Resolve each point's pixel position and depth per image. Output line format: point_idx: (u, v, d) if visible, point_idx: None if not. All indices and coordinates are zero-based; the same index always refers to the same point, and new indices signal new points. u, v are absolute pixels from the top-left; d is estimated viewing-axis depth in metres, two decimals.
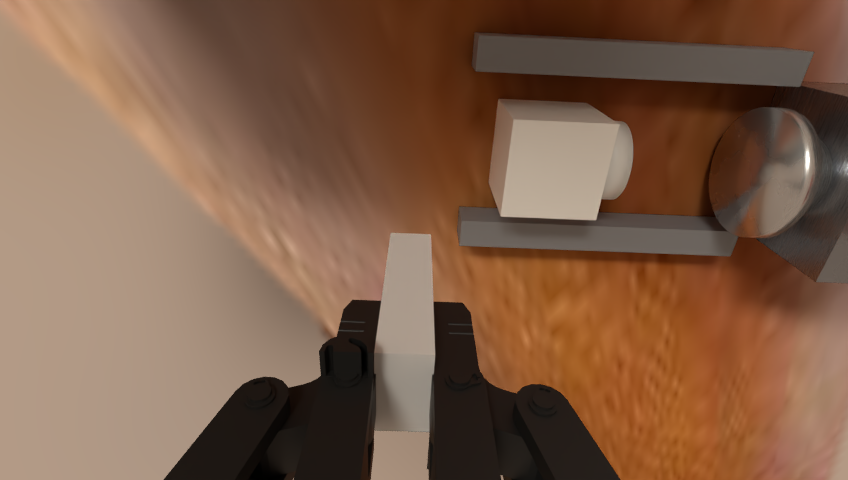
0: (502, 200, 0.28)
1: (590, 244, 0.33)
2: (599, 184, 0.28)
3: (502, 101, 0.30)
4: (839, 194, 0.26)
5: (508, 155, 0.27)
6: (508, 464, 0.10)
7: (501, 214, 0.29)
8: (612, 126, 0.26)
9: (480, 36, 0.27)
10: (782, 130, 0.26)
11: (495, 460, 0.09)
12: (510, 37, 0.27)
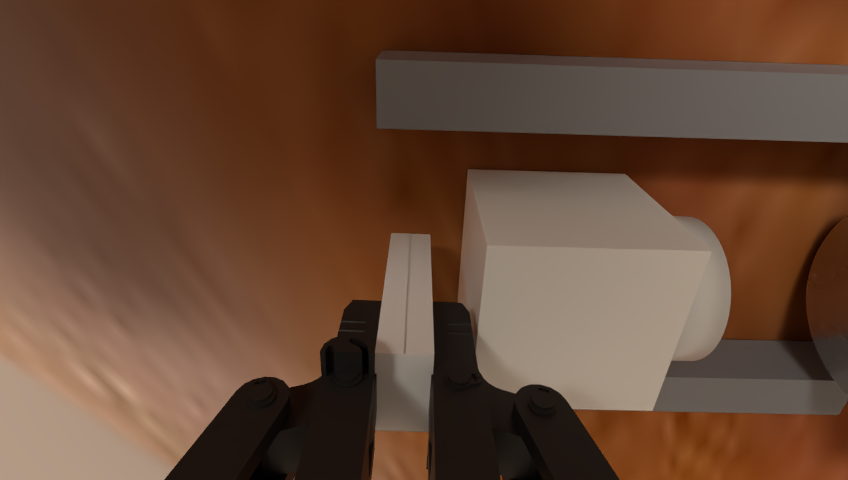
0: None
1: None
2: (663, 354, 0.14)
3: (474, 178, 0.17)
4: None
5: (479, 308, 0.13)
6: (506, 464, 0.10)
7: None
8: (696, 256, 0.12)
9: (378, 61, 0.13)
10: None
11: (494, 460, 0.09)
12: (440, 62, 0.13)
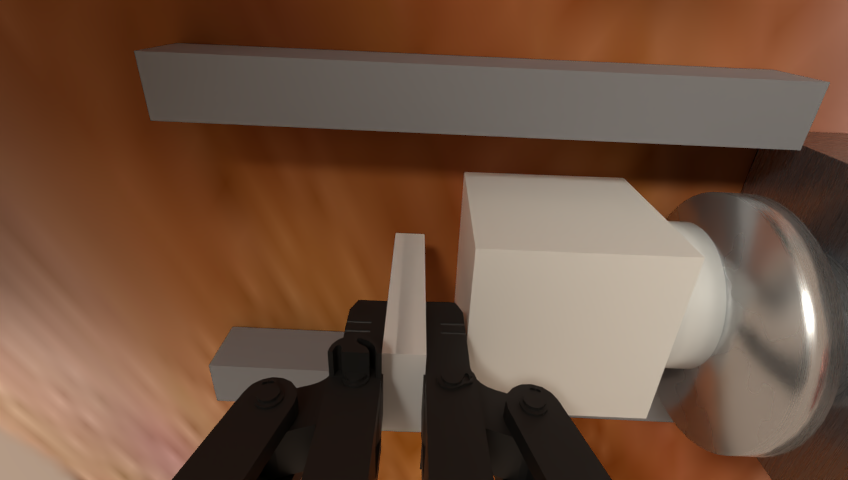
0: None
1: None
2: (656, 362, 0.14)
3: (469, 181, 0.17)
4: None
5: (468, 312, 0.13)
6: (498, 464, 0.10)
7: None
8: (689, 262, 0.12)
9: (137, 53, 0.13)
10: (758, 253, 0.12)
11: (488, 459, 0.09)
12: (201, 54, 0.13)
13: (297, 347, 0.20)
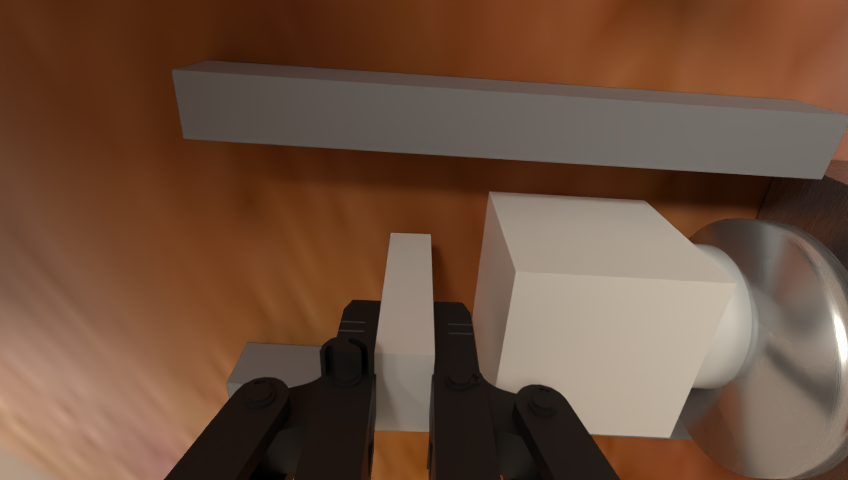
0: None
1: None
2: (683, 383, 0.14)
3: (495, 200, 0.17)
4: None
5: (503, 332, 0.13)
6: (507, 464, 0.10)
7: None
8: (720, 287, 0.12)
9: (175, 72, 0.13)
10: (788, 281, 0.13)
11: (495, 460, 0.09)
12: (239, 75, 0.13)
13: (315, 364, 0.20)
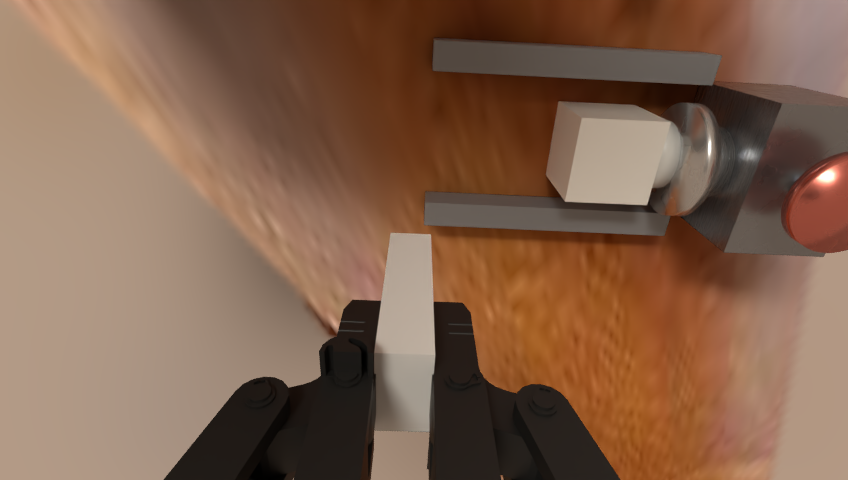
0: (567, 187, 0.33)
1: (539, 224, 0.38)
2: (651, 173, 0.32)
3: (563, 103, 0.35)
4: (740, 176, 0.30)
5: (574, 148, 0.32)
6: (508, 464, 0.10)
7: (565, 199, 0.33)
8: (664, 124, 0.31)
9: (435, 41, 0.32)
10: (692, 121, 0.31)
11: (495, 460, 0.09)
12: (461, 42, 0.32)
13: (464, 198, 0.38)
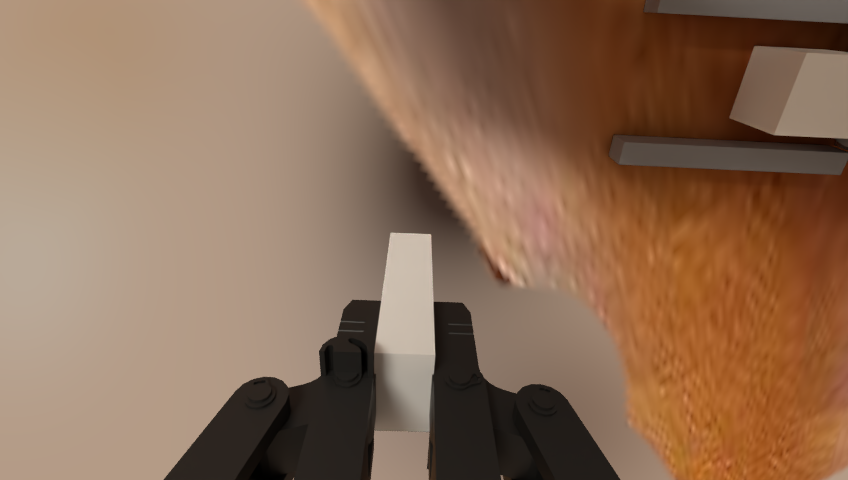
0: (778, 121, 0.36)
1: (726, 163, 0.41)
2: None
3: (763, 46, 0.38)
4: None
5: (793, 83, 0.34)
6: (508, 464, 0.10)
7: (774, 133, 0.36)
8: None
9: None
10: None
11: (495, 460, 0.09)
12: None
13: (655, 139, 0.41)
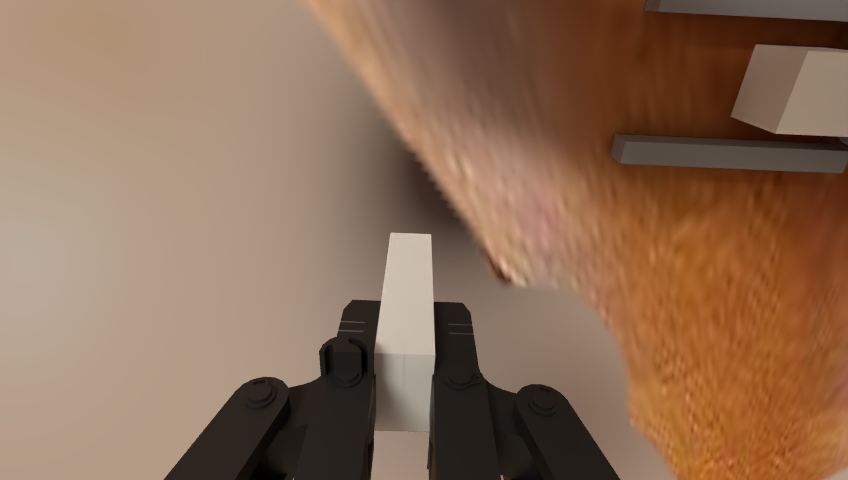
0: (779, 120, 0.36)
1: (728, 162, 0.41)
2: None
3: (764, 45, 0.38)
4: None
5: (794, 81, 0.34)
6: (508, 464, 0.10)
7: (776, 131, 0.36)
8: None
9: None
10: None
11: (495, 460, 0.09)
12: None
13: (656, 138, 0.41)
